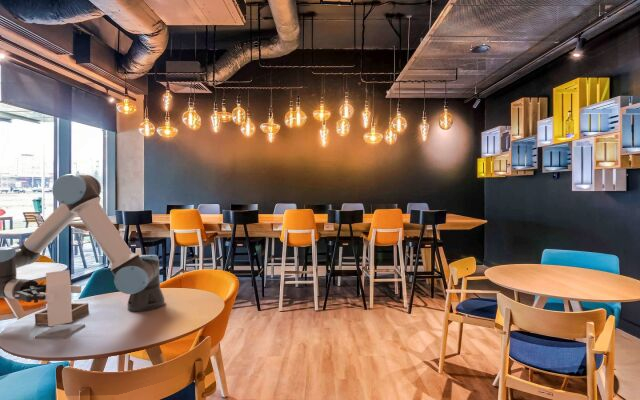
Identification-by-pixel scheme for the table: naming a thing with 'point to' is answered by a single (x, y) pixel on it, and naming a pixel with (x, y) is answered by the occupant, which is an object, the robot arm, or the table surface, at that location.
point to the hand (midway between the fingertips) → (67, 293)
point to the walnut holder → (77, 312)
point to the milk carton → (59, 297)
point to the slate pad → (60, 331)
